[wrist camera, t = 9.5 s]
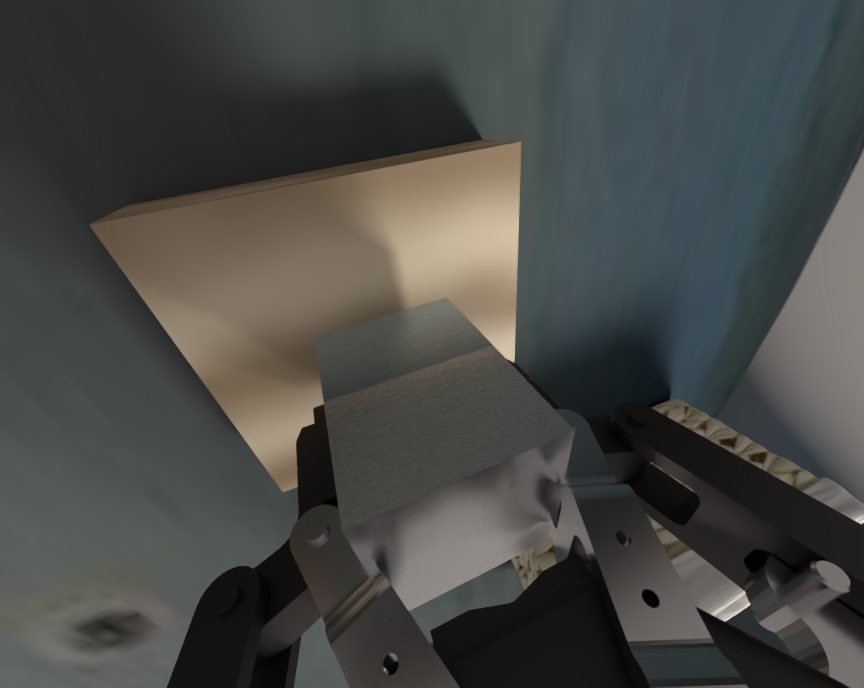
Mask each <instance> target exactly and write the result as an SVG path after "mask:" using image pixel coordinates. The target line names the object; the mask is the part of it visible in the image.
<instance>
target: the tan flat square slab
mask: <svg viewBox="0 0 864 688" xmlns="http://www.w3.org/2000/svg"><path fill="white" fill-rule="evenodd" d="M520 165H521V142H520V141H502V140H484V139H483V140H477V141H472V142H467V143H461V144H456V145H450V146H445V147H440V148H434V149H429V150H423V151H418V152H413V153H407V154H402V155H396V156H391V157H386V158H380V159H375V160H369V161H364V162H359V163H353V164H348V165H342V166H337V167H332V168H326V169H321V170H315V171H310V172H305V173H299V174H294V175H288V176H283V177H278V178H272V179H267V180H261V181H256V182H250V183H245V184H240V185H234V186H229V187H223V188H218V189H213V190H207V191H202V192H196V193H191V194H186V195H180V196H175V197H169V198H164V199H159V200H153V201H148V202H142V203H137V204H132V205H128V206H126V207H124V208H122V209H119V210H117V211H115V212H113V213H111V214H109V215H107V216H105V217H103V218H101V219H99V220H97V221H95V222H93V223H91V224H89V226H90V227H91V228H92V230H93V231H94V232H95V234H96V235H97V237H98V238H99V239H100V241H101V242H102V244H103V245H104V246H105V248H106V249H107V250H108V252H109V253H110V255H111V256H112V257H113V259H114V260H115V261H116V263H117V264H118V266H119V267H120V268H121V270H122V271H123V273H124V274H125V275H126V277H127V278H128V279H129V281H130V282H131V284H132V285H133V286H134V288H135V289H136V290H137V292H138V293H139V295H140V296H141V297H142V299H143V300H144V302H145V303H146V304H147V306H148V307H149V308H150V310H151V311H152V313H153V314H154V315H155V317H156V318H157V319H158V321H159V322H160V324H161V325H162V326H163V328H164V329H165V330H166V332H167V333H168V335H169V336H170V337H171V339H172V340H173V342H174V343H175V344H176V346H177V347H178V348H179V350H180V351H181V353H182V354H183V355H184V357H185V358H186V359H187V361H188V362H189V364H190V365H191V366H192V368H193V369H194V371H195V372H196V373H197V375H198V376H199V377H200V379H201V380H202V382H203V383H204V384H205V386H206V387H207V388H208V390H209V391H210V393H211V394H212V395H213V397H214V398H215V400H216V401H217V402H218V404H219V405H220V406H221V408H222V409H223V411H224V412H225V413H226V415H227V416H228V417H229V419H230V420H231V422H232V423H233V424H234V426H235V427H236V428H237V430H238V431H239V433H240V434H241V435H242V437H243V438H244V440H245V441H246V442H247V444H248V445H249V446H250V448H251V449H252V451H253V452H254V453H255V455H256V456H257V457H258V459H259V460H260V462H261V463H262V464H263V466H264V467H265V469H266V470H267V471H268V473H269V474H270V475H271V477H272V478H273V480H274V481H275V482H276V484H277V485H278V486H279V488H280V489H281V491H282V492H286V491H288V490H291V489H293V488H296V487H298V480H297V470H298V468H297V455H296V441H297V438H298V436H299V434H300V431H301V429H302V428H303V427H306V426H309V425H312V424H314V413H313V408H314V407H317V406H320V405H323V404H324V401H323V394H322V387H321V380H320V373H319V366H318V359H317V352H316V345H315V338H314V336H316V335H319V334H323V333H326V332H330V331H333V330H337V329H340V328H343V327H347V326H350V325H354V324H357V323H360V322H364V321H367V320H371V319H374V318H378V317H381V316H384V315H388V314H391V313H395V312H398V311H401V310H405V309H408V308H412V307H415V306H418V305H422V304H425V303H429V302H432V301H436V300H439V299H442V298H446V297H447V298H448V299H449V300H450V301H451V302H452V303H453V304H454V305H455V306H456V307H457V308H458V309H459V310H460V311H461V312H462V313H463V314H464V315H465V316H466V317H467V318H468V320H469V321H470V322H471V323H472V324H473V325H474V326H475V327H476V328H477V329H478V330H479V331H480V332H481V333H482V334H483V335H484V336H485V337H486V338H487V339H488V340H489V341H490V343H491V344H492V345H493V346H494V347H495V348H496V349H497V350H498V351H499V352H500V353H501V354H502V355H503V356H504V357H505V358H506V359H508V360H510V361H512V362H514V359H515V327H516V295H517V262H518V230H519V198H520Z"/></svg>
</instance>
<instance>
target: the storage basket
mask: <svg viewBox="0 0 864 688" xmlns="http://www.w3.org/2000/svg"><path fill="white" fill-rule="evenodd" d="M652 409H654V410H656V411H658V412H660V413H661V414H663V415H665V416H667V417H669V418H670V419H672V420H674V421H676V422H678V423H679V424H681V425H683V426H685V427H687V428H688V429H690V430H692V431H694V432H696V433H697V434H699V435H701V436H703V437H705V438H706V439H708V440H710V441H712V442H714V443H715V444H717V445H719V446H721V447H723V448H725V449H726V450H728V451H730V452H732V453H734V454H735V455H737V456H739V457H741V458H743V459H744V460H746V461H748V462H750V463H752V464H753V465H755V466H757V467H759V468H761V469H762V470H764V471H766V472H768V473H770V474H771V475H773V476H775V477H777V478H779V479H780V480H782V481H784V482H786V483H788V484H789V485H791V486H793V487H795V488H797V489H798V490H800V491H802V492H804V493H806V494H808V495H809V496H811V497H813V498H815V499H817V500H818V501H820V502H822V503H824V504H826V505H827V506H829V507H831V508H833V509H835V510H836V511H838V512H840V513H842V514H844V515H845V516H847V517H849V518H851V519H853V520H854V521H856V522H858V523H860V524H863V522H864V504H863V503H861V502H860V501H859V500H857V499H856V498H855V497H853V496H852V495H850V494H849V493H848V492H847V491H846V490H845V489H844V488H843V487H841V486H839V485H838V484H836V483H835V482H833V481H832V480H830V479H828V478H822V479H818V478H816V477H815V476H814V475H812V474H811V473H809V472H808V471H806V470H803V469H801V468H800V467H798V466H797V465H795V464H794V463H792V462H791V461H789V460H787V459H785V458H783V457H779V456H777V455H775V454H773V453H770V452H768V451H767V450H766V449H765V448H764V447H762V446H761V445H759V444H756V443H753V442H752V441H751V440H750V439H748V438H747V437H746V436H744V435H741V434H738V433H737V432H735V431H734V430H732V429H731V428H729V427H728V426H726V425H724V424H723V423H722V422H720V421H719V420H716V419H714V418H711V417H710V416H708V415H707V414H706V413H704V412H701V411H698V410H697V409H696V408H694V407H692V406H690V405H688V404H687V403H686V402H684V401H682V400H680V399H672V400H669V401H666V402H663V403H661V404H658V405H656V406H654V407H652ZM749 455H752V457H749ZM651 464H652V465H654V466H655V467H657V468H658V469H660V470H661V471H663V472H664V473H666V474H667V475H669V476H670V477H672V478H673V479H675V480H676V481H678V482H679V483H681V484H682V485H684V486H685V487H687V488H688V489H690V490H691V491H693V490H692V489H691V488H689V487H688V486H686V485H685V484H683V483H682V482H680V481H679V480H677V479H676V478H674V477H673V476H671V475H670V474H668V473H667V472H665V471H664V470H662V469H661V468H659V467H658V466H656V465H655V464H653V463H652V462H651ZM693 492H694V491H693ZM694 493H695V492H694ZM646 515H647V514H646ZM647 517H648V519H649V520H650V522H651V524H652V526H653V528H654V530H655V532H656V534H657V536H658V537H659V539H660V541H661V543H662V545H663V547H664V549H665V551H666V553H667V554H668V556H669V558H670V560H671V562H672V564H673V566H674V568H675V569H676V571H677V573H678V575H679V577H680V579H681V581H682V583H683V585H684V586H685V588H686V590H687V592H688V594H689V596H690V598H691V600H692V602H693V603H694V605H695V606H696V607H698V608H700V609H702V610H703V611H705V612H707V613H709V614H711V615H713V616H715V617H717V618H719V619H721V620H723V621H727V620H728V619H730V618H731V617H733V616H734V615H736V614H738V613H739V612H740V611H742V610H743V609H745V608H746V607H748V606H749V605H751V604H750V603H749V601H748V598H747V596H746V593H745V591H744V590H743V589H741V588H740V587H739V586H738V585H736V584H735V583H734V582H732V581H731V580H730V579H729V578H727V577H726V576H725V575H724V574H722V573H721V572H720V571H718V570H717V569H716V568H715V567H713V566H712V565H711V564H709V563H708V562H707V561H706V560H704V559H703V558H702V557H701V556H699V555H698V554H697V553H695V552H694V551H693V550H692V549H690V548H689V547H688V546H687V545H685V544H684V543H683V542H681V541H680V540H679V539H678V538H676V537H675V536H674V535H673V534H671V533H670V532H669V531H667V530H666V529H665V528H664V527H662V526H661V525H660V524H659V523H657V522H656V521H655V520H653V519H652V518H651V517H650V516H648V515H647ZM511 560H512V563H513V565H514V566H515V568H516V569H517V570H518V574H519V577H520V581H521V584H522V586H523V587H524V589H525V590H526V589H527V588H528V586H529V585H530V584H531V583H532V582H533V581H534V580H535V579H536V578H537V577H538V576H539V575H540V574H541V573H542V571H544V570H546V569H548V568H549V567H551V566H553V565H555V564H556V559H555V554H554V547H553V538H552V539H550V540H548V541H546V542H544V543H542V544H540V545H538V546H536V547H534V548H532V549H530V550H528V551H526V552H524V553H522V554H520V555H518V556H516V557H514V558H512V559H511Z"/></svg>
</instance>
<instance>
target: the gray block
mask: <svg viewBox="0 0 864 688" xmlns="http://www.w3.org/2000/svg"><path fill="white" fill-rule="evenodd" d="M314 338H315V345H316V352H317V359H318V366H319V373H320V380H321V387H322V394H323V401H324V408H325V416H326V423H327V430H328V437H329V444H330V451H331V458H332V465H333V472H334V479H335V486H336V493H337V500H338V507H339V514H340V521H341V528H342V532H343V534H344V535H345V537H346V539H347V540H348V542H349V544H350V545H351V547H352V549H353V550H354V552H355V554H356V555H357V557H358V559H359V560H360V562H361V561H363V560H366V559H368V558H370V557H371V558H372V559H373V561H374V562H375V564H376V565H377V567H378V568H379V570H380V571H381V572H382V573H383V574H384V576H385V577H386V578H387V580H388V581H389V583H390V584H391V586H392V587H393V589H394V590H395V592H396V593H397V595H398V596H399V598H400V599H401V601H402V602H403V604H404V605H405V607H406V608H407V610H408V611H410V610H412V609H414V608H416V607H418V606H420V605H421V604H423V603H425V602H427V601H429V600H431V599H433V598H435V597H437V596H439V595H441V594H443V593H445V592H447V591H449V590H451V589H453V588H455V587H457V586H459V585H461V584H463V583H465V582H467V581H469V580H471V579H473V578H475V577H477V576H479V575H481V574H483V573H485V572H487V571H489V570H490V569H492V568H494V567H496V566H498V565H500V564H502V563H504V562H506V561H508V560H510V559H512V558H514V557H516V556H518V555H520V554H522V553H524V552H526V551H528V550H530V549H532V548H534V547H536V546H538V545H540V544H542V543H544V542H546V541H548V540H550V539H552V538H553V537H552V532H551V528H550V524H549V517H550V513H552V512H554V511H556V510H558V509H559V505H560V500H561V499H560V494H559V491H558V488H557V485H556V479H557V473H558V472H559V471H561V470H563V469H565V468H567V466H568V461H569V456H570V452H571V447H572V442H573V437H574V432H575V430H574V429H573V428H572V427H571V426H570V425H569V424H568V423H567V422H566V421H565V420H564V419H563V418H562V417H561V416H560V415H559V414H558V413H557V412H556V410H555V409H554V408H553V407H552V406H551V405H550V404H549V403H548V402H547V401H546V400H545V399H544V398H543V397H542V396H541V395H540V394H539V393H538V392H537V391H536V390H535V389H534V387H533V386H532V385H531V384H530V383H529V382H528V381H527V380H526V379H525V378H524V377H523V376H522V375H521V374H520V373H519V372H518V371H517V370H516V369H515V368H514V367H513V366H512V364H511V363H510V362H509V361H508V360H507V359H506V358H505V357H504V356H503V355H502V354H501V353H500V352H499V351H498V350H497V349H496V348H495V347H494V346H493V345H492V344H491V343H490V341H489V340H488V339H487V338H486V337H485V336H484V335H483V334H482V333H481V332H480V331H479V330H478V329H477V328H476V327H475V326H474V325H473V324H472V323H471V322H470V321H469V320H468V318H467V317H466V316H465V315H464V314H463V313H462V312H461V311H460V310H459V309H458V308H457V307H456V306H455V305H454V304H453V303H452V302H451V301H450V300H449V299H448V298H447V297H446V298H442V299H439V300H436V301H432V302H429V303H425V304H422V305H418V306H415V307H412V308H408V309H405V310H401V311H398V312H395V313H391V314H388V315H384V316H381V317H378V318H374V319H371V320H367V321H364V322H360V323H357V324H354V325H350V326H347V327H343V328H340V329H337V330H333V331H330V332H326V333H323V334H319V335H316V336H314Z"/></svg>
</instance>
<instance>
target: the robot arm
mask: <svg viewBox="0 0 864 688" xmlns="http://www.w3.org/2000/svg"><path fill="white" fill-rule="evenodd" d="M507 360H508V359H507ZM508 361H509V362H510V363H511V364H512V366H513V367H514V368H515V369H516V370H517V371H518V372H519V373H520V374H521V375H522V376H523V377H524V378H525V379H526V380H527V381H528V382H529V383H530V384H531V385H532V386H533V387H534V389H535V390H536V391H537V392H538V393H539V394H540V395H541V396H542V397H543V398H544V399H545V400H546V401H547V402H548V403H549V404H550V405H551V406H552V407H553V408H554V409H555V410H556V412H557V413H558V414H559V415H560V416H561V417H562V418H563V419H564V420H565V421H566V422H567V423H568V424H569V425H570V426H571V427H572V428H573V429H574V430H575V432H574V437H573V442H572V447H571V452H570V456H569V461H568V466H567V468H565V469H563V470H561V471H559V472H558V473H557V479H556V485H557V488H558V491H559V494H560V499H561V500H560V505H559V509H558V510H556V511H554V512H552V513H550V517H549V524H550V528H551V532H552V537H553V547H554V554H555V559H556V564H555V565H553V566H551V567H549V568H548V569H546V570H544V571H542V573H541V574H540V575H539V576H538V577H537V578H536V579H535V580H534V581H533V582H532V583H531V584H530V585H529V586H528V588H527V589H526V590H525V591H524V592H523V593H522V594H521V595H520V596H519V597H518V598H517V599H516V600H515V601H514V602H512V603H509V604H503V605H497V606H491V607H485V608H479V609H473V610H469V611H467V612H465V613H463V614H461V615H459V616H457V617H455V618H454V619H452V620H450V621H448V622H446V623H444V624H442V625H440V626H439V627H437V628H435V629H433V630H431V631H430V632H431V635H432V639H433V642H432V643H431V644H430V642H429V641H428V639H427V638H426V636H425V635H424V633H423V632H422V630H421V629H420V627H419V626H418V624H417V623H416V621H415V620H414V618H413V617H412V615H411V614H410V612H409V611H408V610H407V608H406V607H405V605H404V604H403V602H402V601H401V599H400V598H399V596H398V595H397V593H396V592H395V590H394V589H393V587H392V586H391V584H390V583H389V581H388V580H387V578H386V577H385V576H384V574H383V573H382V572H381V571H380V570H379V568H378V567H377V565H376V564H375V562H374V561H373V559H372V558H371V557H370V558H368V559H366V560H363V561H361V562H360V560H359V559H358V557H357V555H356V554H355V552H354V550H353V549H352V547H351V545H350V544H349V542H348V540H347V539H346V537H345V535H344V534H343V532H342V528H341V521H340V514H339V507H338V500H337V493H336V486H335V479H334V472H333V465H332V458H331V451H330V444H329V437H328V430H327V423H326V416H325V408H324V404H323V405H320V406H317V407H314V408H313V413H314V424H312V425H309V426H306V427H303V428H302V429H301V431H300V434H299V436H298V438H297V441H296V455H297V468H298V470H297V480H298V505H299V516H298V521H297V522H296V524H295V526H294V527H293V530H292V532H291V536H290V538H289V539H288V540H287V541H286V543H285V544H284V545H283V546H282V547H281V548H279V549H278V550H277V551H276V552H275V553H273V554H272V555H271V556H270V557H268V558H267V559H266V560H264V561H263V562H262V563H261V564H259V565H258V566H257V567H255V568H254V569H253V568H251V567H248V566H238V567H235V568H232V569H230V570H228V571H226V572H224V573H223V574H222V575H220V576H219V577H218V578H217V579H215V580H214V581H213V582H212V583H211V585H210V586H209V587H208V588H207V589H206V591H205V592H204V594H203V595H202V597H201V599H200V601H199V603H198V605H197V608H196V610H195V613H194V616H193V618H192V621H191V624H190V626H189V629H188V632H187V635H186V637H185V640H184V643H183V645H182V648H181V651H180V654H179V656H178V659H177V662H176V664H175V667H174V670H173V672H172V675H171V678H170V681H169V683H168V686H167V688H294V682H295V675H296V668H297V662H298V655H299V648H300V641H301V635H302V634H303V633H304V632H305V631H306V630H307V629H308V628H309V627H311V626H312V625H313V624H314V623H315V622H316V621H317V620H318V619H319V618H320V617H321V616H322V618H323V620H324V622H325V625H326V629H325V630H326V635H327V638H328V641H329V643H330V645H331V648H332V650H333V652H334V654H335V656H336V659H337V661H338V663H339V665H340V667H341V669H342V672H343V674H344V676H345V678H346V680H347V682H348V685H349V687H350V688H864V526H863V525H862V524H860V523H858V522H856V521H854V520H853V519H851V518H849V517H847V516H845V515H844V514H842V513H840V512H838V511H836V510H835V509H833V508H831V507H829V506H827V505H826V504H824V503H822V502H820V501H818V500H817V499H815V498H813V497H811V496H809V495H808V494H806V493H804V492H802V491H800V490H798V489H797V488H795V487H793V486H791V485H789V484H788V483H786V482H784V481H782V480H780V479H779V478H777V477H775V476H773V475H771V474H770V473H768V472H766V471H764V470H762V469H761V468H759V467H757V466H755V465H753V464H752V463H750V462H748V461H746V460H744V459H743V458H741V457H739V456H737V455H735V454H734V453H732V452H730V451H728V450H726V449H725V448H723V447H721V446H719V445H717V444H715V443H714V442H712V441H710V440H708V439H706V438H705V437H703V436H701V435H699V434H697V433H696V432H694V431H692V430H690V429H688V428H687V427H685V426H683V425H681V424H679V423H678V422H676V421H674V420H672V419H670V418H669V417H667V416H665V415H663V414H661V413H660V412H658V411H656V410H654V409H652V408H650V407H648V406H646V405H643V404H639V403H623V404H620V405H619V406H617V407H616V408H615V410H614V412H613V416H606V417H595V418H583V417H582V416H581V415H579V414H578V413H576V412H573V411H571V410H566V409H560V408H559V407H558V406H557V405H556V404H555V403H554V402H553V401H552V400H551V399H550V398H549V397H548V396H547V395H546V394H545V393H544V392H543V391H542V390H541V389H540V388H539V387H538V386H537V385H536V384H535V383H534V382H533V381H532V380H531V378H530V377H529V376H528V375H527V374H525V373H524V371H523V370H522V369H521V368H520V367H519V366H518V365H517V364H516V363H514V362H512V361H510V360H508ZM651 462H652V463H653V464H655V465H656V466H658V467H659V468H661V469H662V470H664V471H665V472H667V473H668V474H670V475H671V476H673V477H674V478H676V479H677V480H679V481H680V482H682V483H683V484H685V485H686V486H688V487H689V488H691V489H692V490H693V491H694V492H695V493H694V492H693V491H691V490H690V489H688V488H687V487H685V486H684V485H682V484H681V483H679V482H678V481H676V480H675V479H673V478H672V477H670V476H669V475H667V474H666V473H664V472H663V471H661V470H660V469H658V468H657V467H655V466H654V465H652V464H651ZM646 514H647V515H648V516H650V517H651V518H652V519H653V520H655V521H656V522H657V523H659V524H660V525H661V526H662V527H664V528H665V529H666V530H667V531H669V532H670V533H671V534H673V535H674V536H675V537H676V538H678V539H679V540H680V541H681V542H683V543H684V544H685V545H687V546H688V547H689V548H690V549H692V550H693V551H694V552H695V553H697V554H698V555H699V556H701V557H702V558H703V559H704V560H706V561H707V562H708V563H709V564H711V565H712V566H713V567H715V568H716V569H717V570H718V571H720V572H721V573H722V574H724V575H725V576H726V577H727V578H729V579H730V580H731V581H732V582H734V583H735V584H736V585H738V586H739V587H740V588H741V589H743V590H744V591H745V593H746V596H747V598H748V601H749V603H750V604H751V606H752V613H753V615H754V617H755V619H756V620H757V621H758V622H759V623H760V624H761V625H762V626H763V627H765V628H766V629H768V630H770V631H772V632H775V633H776V634H777V635H778V636H779V637H780V638H781V639H782V641H783V642H784V643H785V645H786V646H787V648H788V649H789V651H790V653H791V654H792V656H793V657H792V656H790V655H788V654H786V653H784V652H782V651H780V650H778V649H776V648H774V647H772V646H770V645H769V644H767V643H765V642H763V641H761V640H759V639H757V638H755V637H753V636H751V635H749V634H748V633H746V632H744V631H742V630H740V629H738V628H736V627H734V626H732V625H730V624H728V623H726V622H725V621H723V620H721V619H719V618H717V617H715V616H713V615H711V614H709V613H707V612H705V611H703V610H702V609H700V608H698V607H696V606H695V605H694V603H693V602H692V600H691V598H690V596H689V594H688V592H687V590H686V588H685V586H684V585H683V583H682V581H681V579H680V577H679V575H678V573H677V571H676V569H675V568H674V566H673V564H672V562H671V560H670V558H669V556H668V554H667V553H666V551H665V549H664V547H663V545H662V543H661V541H660V539H659V537H658V536H657V534H656V532H655V530H654V528H653V526H652V524H651V522H650V520H649V519H648V517H647V515H646Z"/></svg>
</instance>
